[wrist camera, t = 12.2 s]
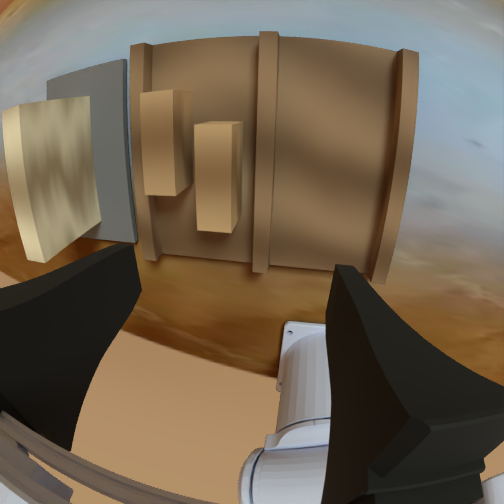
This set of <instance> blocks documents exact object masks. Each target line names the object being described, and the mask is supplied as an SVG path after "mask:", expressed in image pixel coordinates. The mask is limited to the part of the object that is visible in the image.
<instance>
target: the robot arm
mask: <svg viewBox="0 0 504 504" xmlns="http://www.w3.org/2000/svg"><path fill="white" fill-rule="evenodd" d="M141 291H142V288H141V283H140V278H139V273H138V268H137V263H136V257H135V251H134V246H133V244H123V243H119V244H115V245H112V246H109V247H107V248H104V249H102V250H99V251H97V252H95V253H92V254H90V255H88V256H86V257H84V258H81V259H79V260H77V261H75V262H73V263H70V264H68V265H66V266H63V267H61V268H59V269H56V270H54V271H52V272H50V273H47V274H45V275H42V276H39V277H37V278H34V279H31V280H28V281H25V282H22V283H18V284H15V285H11V286H7V287H4V288H0V504H72V503H70V498H71V496H72V494H73V490H72V488H70V487H68V486H67V485H65V484H64V483H62V482H61V481H60V480H58V479H57V478H55V477H54V476H53V475H51V474H50V473H49V472H47V471H46V470H45V469H44V468H42V467H41V466H40V465H39V464H38V463H36V462H35V461H34V460H32V459H31V458H30V457H29V454H28V452H29V453H30V454H31V455H33V456H35V457H36V458H38V459H39V460H41V461H42V462H44V463H45V464H47V465H49V466H50V467H52V468H54V469H55V470H57V471H59V472H61V473H62V474H64V475H66V476H68V477H69V478H71V479H73V480H75V481H77V482H79V483H81V484H83V485H85V486H87V487H89V488H91V489H93V490H95V491H97V492H99V493H101V494H103V495H106V496H108V497H110V498H112V499H115V500H117V501H120V502H122V503H124V504H217V503H212V502H208V501H203V500H198V499H194V498H190V497H186V496H182V495H179V494H175V493H171V492H168V491H164V490H161V489H158V488H155V487H152V486H149V485H146V484H143V483H140V482H137V481H134V480H132V479H129V478H126V477H124V476H121V475H119V474H116V473H114V472H111V471H109V470H106V469H104V468H102V467H100V466H98V465H95V464H93V463H91V462H89V461H87V460H85V459H82V458H81V457H79V456H77V455H75V454H72V453H71V452H69V451H71V448H72V442H73V437H74V432H75V429H76V424H77V421H78V417H79V414H80V410H81V407H82V404H83V401H84V398H85V396H86V393H87V390H88V388H89V385H90V383H91V380H92V378H93V376H94V374H95V371H96V369H97V367H98V365H99V363H100V361H101V359H102V357H103V356H104V354H105V352H106V351H107V348H108V347H109V346H110V344H111V343H112V341H113V340H114V338H115V337H116V335H117V333H118V332H119V330H120V329H121V327H122V326H123V324H124V323H125V321H126V320H127V318H128V317H129V315H130V314H131V312H132V310H133V308H134V306H135V304H136V302H137V300H138V298H139V295H140V293H141ZM288 331H292V332H288ZM276 390H277V391H278V392H281V395H280V403H279V411H278V418H277V426H276V433H275V434H271V435H266V440H265V446H264V448H257V449H255V450H254V451H253V452H252V453H251V454H250V455H249V457H248V458H247V459H246V461H245V462H244V464H243V466H242V468H241V471H240V475H239V480H238V500H239V504H504V472H503V473H500V474H498V475H495V476H493V477H490V478H488V479H487V480H484V481H482V482H481V479H480V474H479V473H482V472H483V471H484V470H485V463H484V457H486V456H487V455H488V454H489V453H490V452H492V451H493V450H494V449H495V448H496V447H497V446H498V445H500V443H502V442H503V441H504V386H502V385H500V384H497V383H495V382H493V381H491V380H489V379H487V378H485V377H483V376H481V375H479V374H477V373H475V372H473V371H472V370H470V369H468V368H466V367H465V366H463V365H461V364H460V363H458V362H456V361H455V360H453V359H452V358H450V357H449V356H447V355H446V354H444V353H443V352H442V351H440V350H439V349H437V348H436V347H435V346H433V345H432V344H431V343H429V342H428V341H427V340H425V339H424V338H423V337H422V336H421V335H419V334H418V333H417V332H416V331H415V330H413V329H412V328H411V327H410V326H409V325H408V324H407V323H406V322H404V321H403V320H402V319H401V318H400V317H399V316H398V315H397V314H396V313H395V312H394V311H393V310H392V309H391V308H390V307H389V306H388V305H387V303H386V302H385V301H384V300H383V299H382V298H381V297H380V296H379V295H378V294H377V292H376V291H375V290H374V289H373V288H372V287H371V286H370V284H369V283H368V282H367V281H366V280H365V279H364V277H363V276H362V275H361V274H360V273H359V272H358V270H357V269H356V268H355V267H354V266H352V265H341V264H335V269H334V274H333V279H332V284H331V289H330V294H329V299H328V304H327V309H326V324H315V323H304V322H294V321H288V322H286V323H285V325H284V333H283V341H282V349H281V356H280V364H279V371H278V378H277V386H276Z"/></svg>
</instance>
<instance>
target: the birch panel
mask: <svg viewBox="0 0 504 504" xmlns="http://www.w3.org/2000/svg"><path fill="white" fill-rule="evenodd" d="M2 123H3V137H4V148H5V156H6V164H7V171H8V178H9V184H10V190H11V195H12V200H13V205H14V210H15V214H16V218H17V223H18V227H19V231H20V235H21V238H22V242H23V245H24V249H25V252H26V256H27V259H28V260H32V261H37V262H42V263H46V262H47V261H48V260H50V259H51V258H52V257H53V256H55V255H56V254H57V253H58V252H60V251H61V250H62V249H64V248H65V247H66V246H68V245H69V244H70V243H72V242H73V241H74V240H76V239H77V238H78V237H80V236H81V235H82V234H84V233H85V232H87V231H88V230H89V229H91V228H92V227H94V226H95V225H96V224H98V223H99V222H101V215H100V209H99V202H98V195H97V188H96V180H95V171H94V162H93V151H92V138H91V120H90V96H84V97H73V98H63V99H55V100H47V101H40V102H33V103H27V104H21V105H18V106H15V107H13V108H10V109H8V110H5V111H3V112H2Z"/></svg>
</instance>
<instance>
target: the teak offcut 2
mask: <svg viewBox="0 0 504 504" xmlns="http://www.w3.org/2000/svg"><path fill="white" fill-rule="evenodd" d="M194 151H195V188H196V213H197V230H200V231H212V232H224V233H232V231H233V229H234V227H235V225H236V224H237V222H238V220H239V218H240V216H241V214H242V151H243V122H235V121H210V122H205V123H200V124H195V125H194Z"/></svg>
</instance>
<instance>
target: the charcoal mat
mask: <svg viewBox="0 0 504 504" xmlns="http://www.w3.org/2000/svg"><path fill="white" fill-rule="evenodd" d="M126 73H127V59H120V60H115V61H111V62H107V63H103V64H99V65H95V66H92V67H88V68H85V69H81V70H78V71H75V72H71V73H68V74H65V75H62V76H59V77H56V78H53V79H51V80H48V81H47V100H55V99H63V98H73V97H84V96H90V120H91V138H92V151H93V162H94V171H95V180H96V188H97V195H98V202H99V209H100V215H101V222H99V223H98V224H96V225H95V226H94V227H92V228H91V229H89V230H88V231H87V232H85V233H84V234H82V235H81V236H80V237H83V238H92V239H102V240H112V241H122V242H132V243H135V242H136V241H138V237H137V230H136V222H135V215H134V206H133V197H132V188H131V177H130V165H129V151H128V133H127V102H126Z"/></svg>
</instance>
